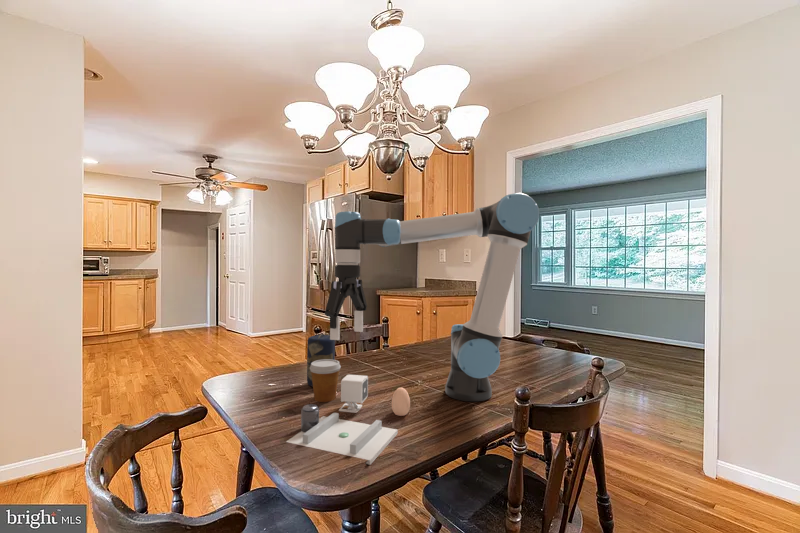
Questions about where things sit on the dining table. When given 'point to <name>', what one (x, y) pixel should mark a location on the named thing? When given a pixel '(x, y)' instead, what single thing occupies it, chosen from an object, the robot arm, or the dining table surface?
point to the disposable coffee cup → (325, 379)
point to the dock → (347, 437)
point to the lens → (309, 417)
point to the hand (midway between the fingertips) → (347, 335)
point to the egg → (400, 402)
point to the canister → (319, 351)
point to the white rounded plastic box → (353, 392)
